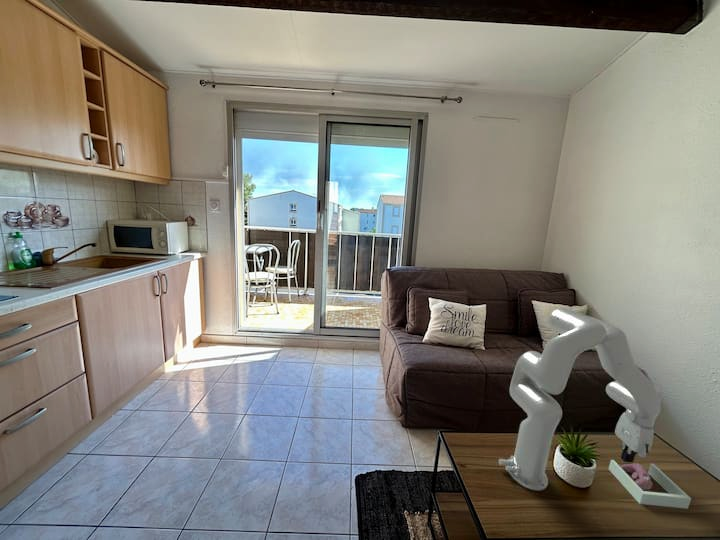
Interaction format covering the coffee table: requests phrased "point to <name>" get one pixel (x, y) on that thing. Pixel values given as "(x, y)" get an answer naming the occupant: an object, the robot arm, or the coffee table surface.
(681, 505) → the box
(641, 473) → the video game controller
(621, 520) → the coffee table surface
